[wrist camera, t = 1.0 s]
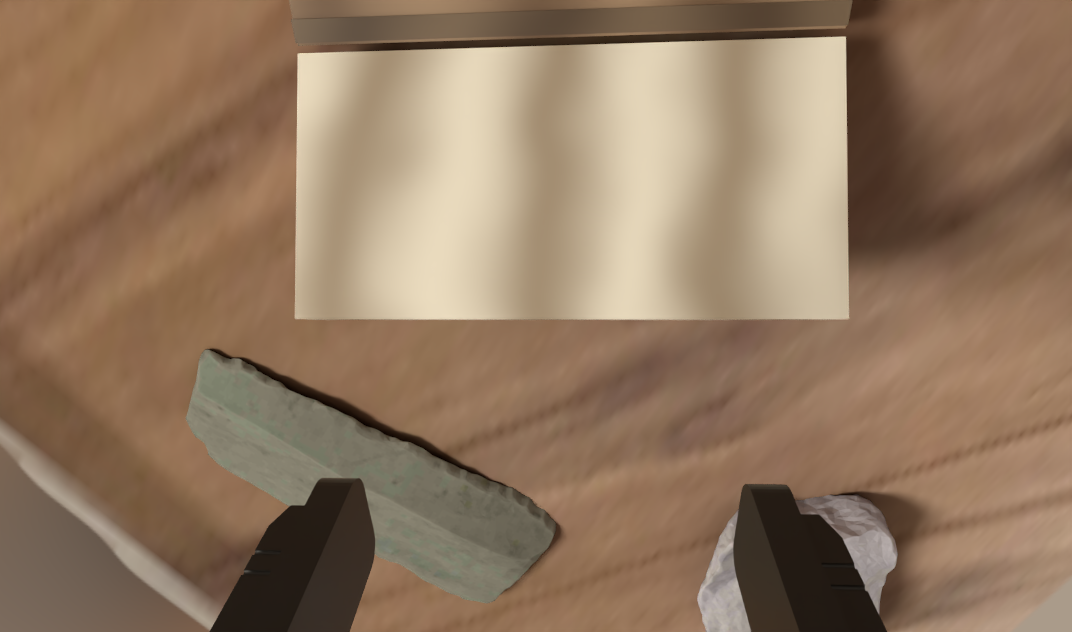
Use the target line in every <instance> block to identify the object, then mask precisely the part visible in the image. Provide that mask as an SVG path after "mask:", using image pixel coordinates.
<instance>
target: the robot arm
mask: <svg viewBox="0 0 1072 632" xmlns="http://www.w3.org/2000/svg"><path fill="white" fill-rule="evenodd" d="M374 553H375V533H374V528H373V524H372V519H371V515H370V510H369V506H368V501H367V497H366V492H365V488H364V484H363V482H362V480H361V479H360V478H321V479H319V480H318V481H317V483H316V485H315V486H314V488H313V490H312V492H311V494H310V496H309V498H308V500H307V502H306V504H305V505H291V506H290V507H289V508H287V509H286V510H285V511H284V512H283V513H282V514H281V515H280V516H279V517H278V518H277V519H276V520H275V521H274V522H272V523H271V524H270V525H269V526H268V528H267V530H266V532H265V534H264V535H263V537H262V539H261V541H260V543H259V544H258V546H257V548H256V550H255V555H252V557H251V559H250V560H249V562H248V564H247V566H246V568H245V569H244V575H241V577H240V578H239V580H238V582H237V584H236V585H235V587H234V589H233V591H232V593H231V594H230V596H229V598H228V600H227V602H226V603H225V605H224V607H223V609H222V611H221V612H220V614H219V616H218V618H217V619H216V621H215V623H214V625H213V627H212V628H211V630H210V632H350V629H351V626H352V623H353V620H354V617H355V614H356V611H357V608H358V605H359V603H360V600H361V597H362V594H363V591H364V588H365V585H366V582H367V579H368V577H369V574H370V571H371V568H372V564H373V560H374ZM733 557H734V567H735V573H736V577H737V581H738V585H739V588H740V592H741V596H742V599H743V603H744V607H745V611H746V614H747V618H748V622H749V625H750V629H751V632H887V631H886V628H885V626H884V624H883V622H882V620H881V618H880V616H879V614H878V612H877V610H876V608H875V605H874V603H873V601H872V599H871V597H870V595H869V593H868V591H866V590H865V584H864V582H863V580H862V578H861V576H860V574H859V572H858V570H857V569H855V566H854V561H853V559H852V557H851V555H850V553H849V551H848V549H847V547H846V545H845V543H844V540H843V538H842V537H841V536H840V535H839V534H838V533H837V532H836V531H835V530H834V529H833V528H832V527H831V526H830V525H829V524H828V523H827V522H826V521H825V520H824V519H823V518H822V517H821V516H820V515H819V514H801V513H800V511H799V509H798V506H797V504H796V502H795V499H794V497H793V494H792V492H791V490H790V488H789V487H788V486H787V485H777V484H745V485H744V486H743V488H742V492H741V499H740V505H739V511H738V517H737V523H736V529H735V536H734V543H733Z"/></svg>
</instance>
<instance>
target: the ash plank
mask: <svg viewBox="0 0 1072 632" xmlns="http://www.w3.org/2000/svg"><path fill="white" fill-rule="evenodd" d="M295 319H311V320H836V319H849V275H848V183H847V90H846V37H816V38H784V39H751V40H719V41H687V42H654V43H622V44H590V45H557V46H525V47H493V48H460V49H428V50H396V51H364V52H331V53H299V54H298V89H297V178H296V267H295Z"/></svg>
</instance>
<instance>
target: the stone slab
mask: <svg viewBox="0 0 1072 632" xmlns="http://www.w3.org/2000/svg"><path fill="white" fill-rule="evenodd" d="M245 363H246V362H243V361H242V360H241V359H236V358H232V359H228V358H225V357H223V356H221V355H219V354H217V353H215V352H213V351H211V350H204V352H203V353H202V355H201V357H200V359H199V366H198V372H197V379H196V383H195V386H194V389H193V393H192V397H191V401H190V405H189V410H188V413H187V416H186V420H187V422H188V424H189V427H190V428H191V430H192V432H193V434H194V435H195V437H197V438H198V439H200V440H201V441H202V442H204V444H205V445H206V447H207V450H208V455H209V456H210V457H211V458H212V459H214V460H215V461H216V462H217V463H218V464H219V465H221V466H222V467H223V468H225V469H226V470H228V471H229V472H231V473H233V474H235V475H237V476H238V477H240V478H242V479H244V480H246V481H248V482H250V483H251V484H253V485H254V486H256V487H258V488H260V489H261V490H263V491H265V492H267V493H269V494H270V495H272V496H273V497H275V498H277V499H278V500H280V501H281V502H283V503H284V504H286V505H288V506H291V505H305V504H306V502H307V500H308V498H309V496H310V494H311V492H312V490H313V488H314V486H315V485H316V483H317V481H318V480H319V479H321V478H360V479H361V480H362V482H363V484H364V488H365V492H366V497H367V501H368V506H369V510H370V515H371V519H372V524H373V528H374V533H375V553H374V554H376V555H377V556H378V557H379V558H382V559H385V560H388V561H390V562H395V563H398V564H400V565H402V566H403V567H405V568H407V569H408V570H410V571H412V572H413V573H415V574H416V575H417V576H419V577H420V578H421V579H423V580H424V581H426V582H429V583H431V584H433V585H436V586H437V587H439V588H441V589H443V590H445V591H446V592H448V593H450V594H454V595H458V596H460V597H461V598H463V599H465V600H472V601H478V602H483V603H490V602H493V601H495V600H496V598H497V597H498V596H499V595H500V594H502V592H503V591H504V590H505V589H507V588H509V587H511V586H512V585H513V584H514V583H515V582H516V581H517V580H518V579H519V578H520V577H521V576H522V575H523V574H524V573H525V572H526V571H527V570H528V569H529V568H530V566H531V565H532V564H533V563H534V562H536V561H537V560H538V558H539V557H540V556H541V554H542V553H544V552H545V551H546V550H547V548H548V547H549V545H550V543H551V541H552V538H553V536H554V534H555V531H556V523H555V521H554V520H552V519H551V518H550V517H549V516H548V515H547V513H546V511H545V510H543V509H541V508H539V507H537V506H536V505H535V504H534V503H533V502H532V500H531V499H530V498H529V497H527V496H525V495H522V494H521V493H519V492H518V491H517V490H515V489H514V488H512V487H507V486H504V485H501V484H499V483H496V482H492V481H489V480H487V479H485V478H483V477H481V476H480V475H478V474H471V473H470V472H468V471H466V470H464V469H460V468H458V467H457V466H455V465H453V464H451V463H448V462H446V461H444V460H442V459H440V458H438V457H435V456H433V455H431V454H430V453H429V452H427V451H426V450H425V449H423V448H421V447H419V446H417V445H414V444H413V443H411V442H404V441H401V440H399V439H397V438H395V437H390V436H388V435H385V434H383V433H382V432H380V431H379V430H377V429H374V428H371V427H367V426H365V425H363V424H362V423H360V422H359V421H358V420H356V419H355V418H353V417H351V416H348V415H345V414H343V413H341V412H339V411H338V410H336V409H334V408H331V407H329V406H326V405H324V404H322V403H321V402H319V401H317V400H314V399H311V398H308V397H304V396H302V395H300V394H298V393H295V392H293V391H290V390H288V389H287V388H286V387H285V386H284V385H283V384H282V383H281V382H279V381H275V380H273V379H271V378H270V377H268V376H267V375H264V374H262V373H260V372H259V371H257V370H255V369H256V368H255V367H254V366H252V365H250V364H247V363H246V364H245Z"/></svg>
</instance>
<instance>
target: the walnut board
mask: <svg viewBox="0 0 1072 632" xmlns="http://www.w3.org/2000/svg"><path fill="white" fill-rule="evenodd" d="M852 1H853V0H289V3H290V8H291V13H292V18H293V19H291V22H292V27H293V32H294V37H295V42H296V43H298V46H303V45H334V44H366V43H397V42H428V41H460V40H491V39H523V38H554V37H585V36H617V35H648V34H679V33H711V32H742V31H774V30H805V29H836V28H846V25H848V23H849V17H850V12H851V7H852Z"/></svg>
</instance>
